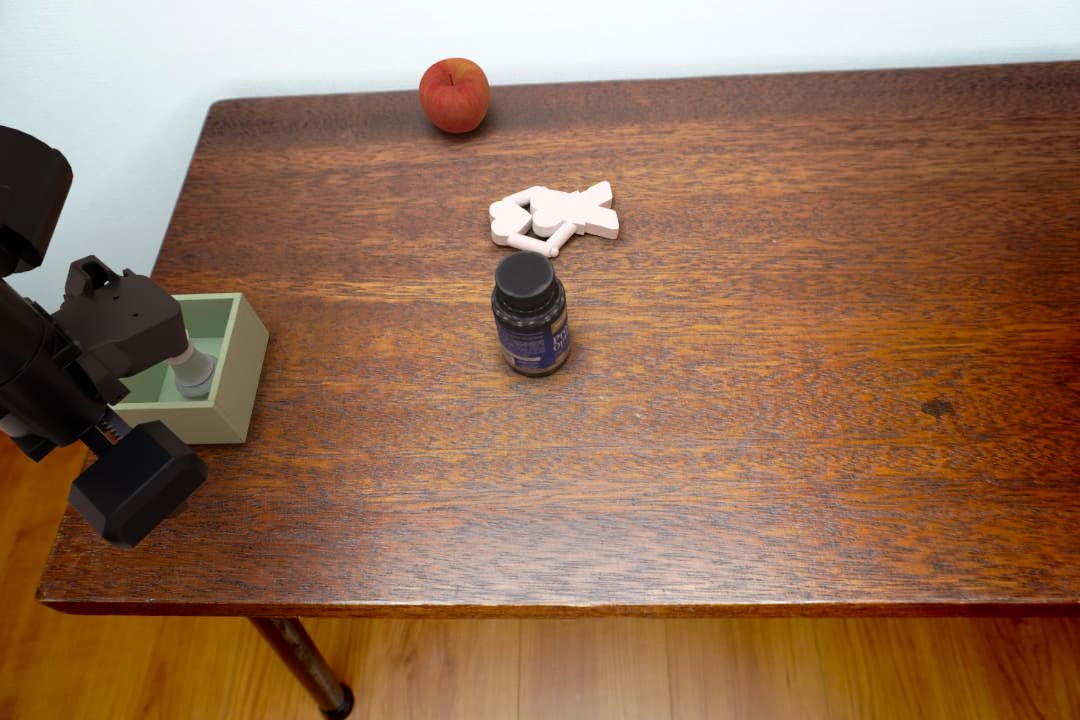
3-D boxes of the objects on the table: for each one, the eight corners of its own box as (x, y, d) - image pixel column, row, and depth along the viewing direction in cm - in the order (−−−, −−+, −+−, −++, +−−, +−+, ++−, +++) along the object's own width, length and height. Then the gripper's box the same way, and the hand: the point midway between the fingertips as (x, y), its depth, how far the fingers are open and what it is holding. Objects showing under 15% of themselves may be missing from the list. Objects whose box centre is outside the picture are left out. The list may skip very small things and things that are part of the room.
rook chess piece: (190, 360, 74) (146, 311, 68) (236, 362, 74) (197, 312, 67) (174, 404, 72) (128, 357, 65) (222, 406, 72) (180, 358, 65)
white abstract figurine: (486, 195, 82) (486, 180, 80) (604, 187, 83) (606, 172, 81) (494, 264, 77) (494, 249, 76) (619, 254, 78) (622, 240, 77)
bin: (245, 443, 70) (212, 407, 65) (142, 445, 71) (101, 410, 65) (269, 333, 76) (241, 292, 70) (174, 336, 77) (139, 295, 71)
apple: (486, 93, 91) (475, 32, 84) (502, 138, 87) (492, 77, 80) (421, 110, 90) (405, 49, 83) (435, 155, 86) (419, 95, 79)
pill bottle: (571, 377, 71) (563, 304, 62) (501, 379, 71) (483, 307, 62) (570, 318, 74) (563, 240, 65) (503, 321, 75) (486, 244, 65)
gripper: (223, 332, 41) (320, 461, 54) (29, 173, 48) (156, 321, 61) (31, 498, 37) (187, 593, 50) (-149, 297, 44) (29, 426, 58)
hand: (140, 470), depth 55 cm, fingers open, 9 cm apart
